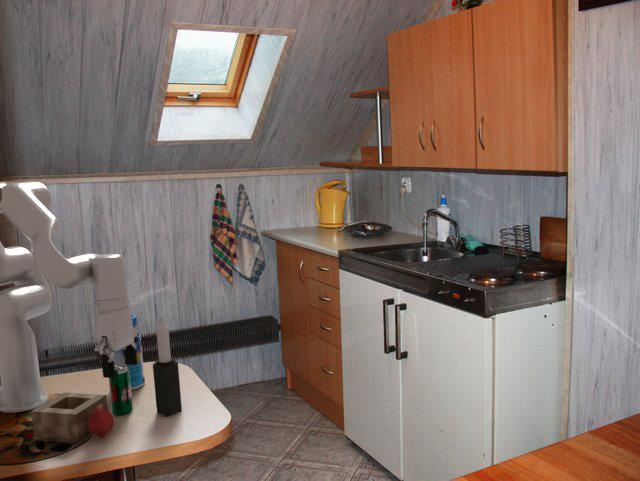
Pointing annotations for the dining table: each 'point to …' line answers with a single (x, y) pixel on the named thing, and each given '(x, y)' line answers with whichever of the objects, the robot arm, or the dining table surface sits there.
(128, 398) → the soda can
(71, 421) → the well block
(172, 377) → the black handled stick
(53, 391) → the dining table surface
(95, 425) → the onion
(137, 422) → the dining table surface
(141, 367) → the beverage bottle
